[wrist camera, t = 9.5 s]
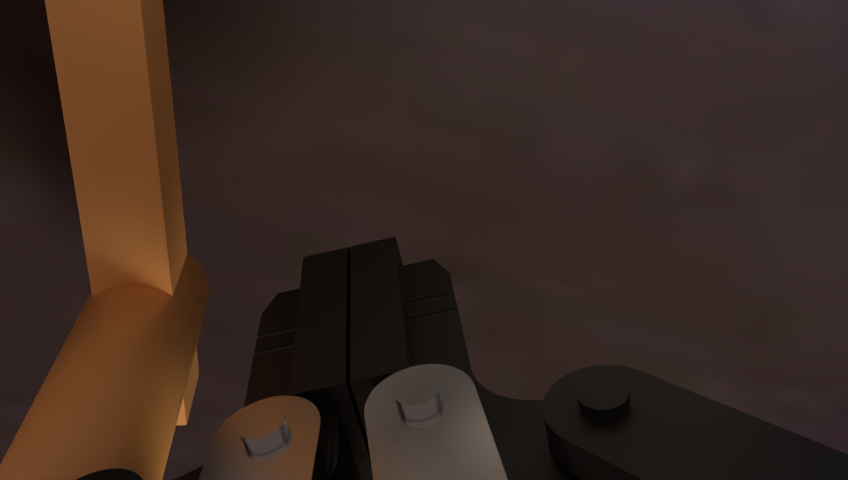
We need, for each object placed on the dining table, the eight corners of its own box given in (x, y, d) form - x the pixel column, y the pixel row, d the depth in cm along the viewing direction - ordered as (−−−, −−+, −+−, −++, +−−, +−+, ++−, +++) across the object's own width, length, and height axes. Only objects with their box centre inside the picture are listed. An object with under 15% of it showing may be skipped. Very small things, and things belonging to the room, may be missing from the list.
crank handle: (-23, -510, 10) (-578, -1083, 4) (143, -493, 10) (-132, -1007, 4) (114, 375, 16) (-17, 704, 10) (216, 373, 16) (150, 691, 10)
